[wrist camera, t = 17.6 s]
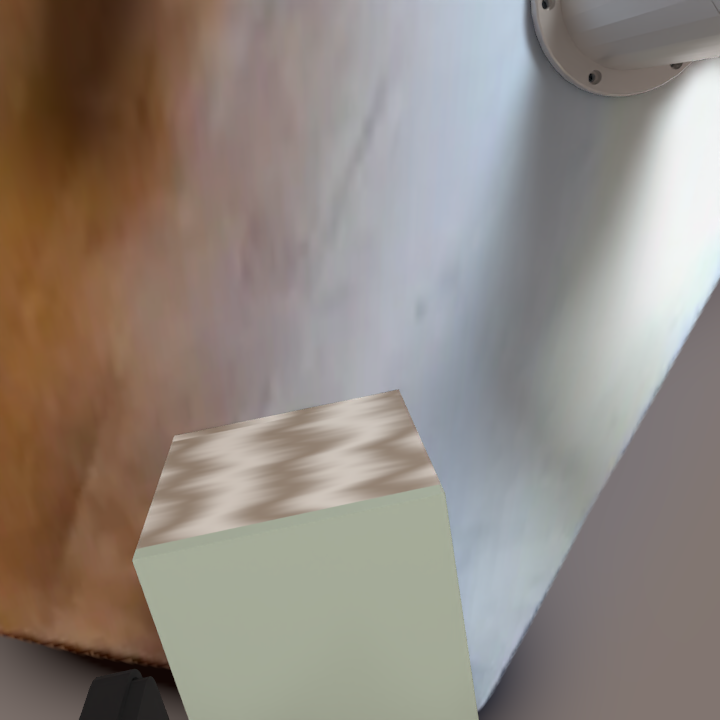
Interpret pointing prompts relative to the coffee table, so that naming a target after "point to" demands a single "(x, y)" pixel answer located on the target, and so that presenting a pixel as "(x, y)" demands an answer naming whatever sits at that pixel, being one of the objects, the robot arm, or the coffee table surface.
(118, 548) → the coffee table surface
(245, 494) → the box
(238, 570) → the lid
